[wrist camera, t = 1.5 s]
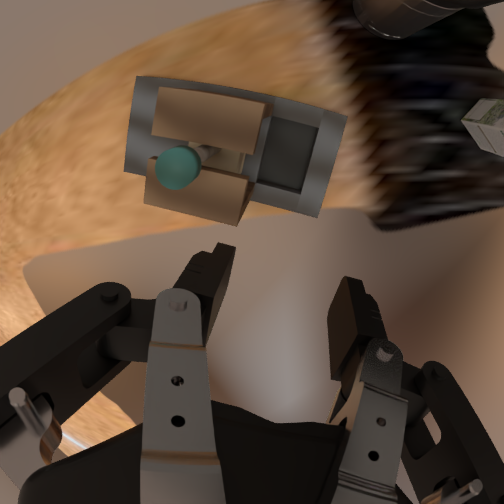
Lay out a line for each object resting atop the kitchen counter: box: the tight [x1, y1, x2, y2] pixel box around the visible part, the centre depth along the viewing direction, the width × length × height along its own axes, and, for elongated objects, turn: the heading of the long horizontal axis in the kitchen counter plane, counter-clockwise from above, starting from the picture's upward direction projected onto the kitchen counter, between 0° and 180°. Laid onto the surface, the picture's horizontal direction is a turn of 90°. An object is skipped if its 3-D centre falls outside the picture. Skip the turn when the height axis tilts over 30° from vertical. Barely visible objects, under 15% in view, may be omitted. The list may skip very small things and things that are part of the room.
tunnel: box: [124, 76, 348, 227], centre depth 34 cm, size 14×28×14 cm, turn 77°
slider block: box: [155, 142, 246, 190], centre depth 30 cm, size 7×6×17 cm
